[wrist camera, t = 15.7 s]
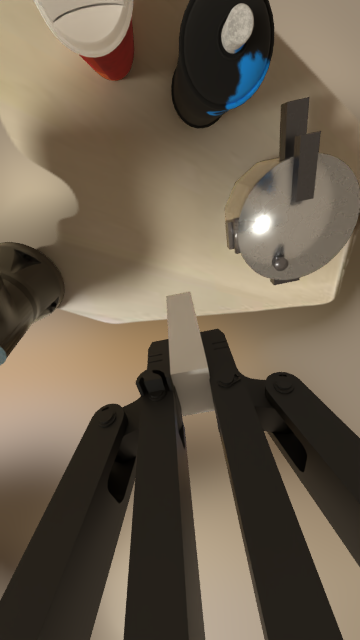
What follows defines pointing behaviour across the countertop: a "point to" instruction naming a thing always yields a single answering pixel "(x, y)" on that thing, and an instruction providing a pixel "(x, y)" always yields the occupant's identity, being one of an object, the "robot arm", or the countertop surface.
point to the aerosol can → (221, 57)
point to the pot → (268, 164)
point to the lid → (298, 213)
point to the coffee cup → (94, 32)
